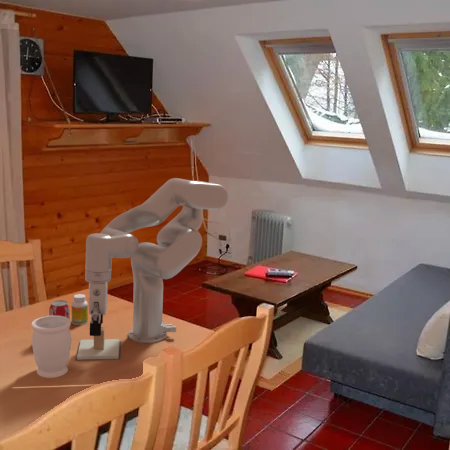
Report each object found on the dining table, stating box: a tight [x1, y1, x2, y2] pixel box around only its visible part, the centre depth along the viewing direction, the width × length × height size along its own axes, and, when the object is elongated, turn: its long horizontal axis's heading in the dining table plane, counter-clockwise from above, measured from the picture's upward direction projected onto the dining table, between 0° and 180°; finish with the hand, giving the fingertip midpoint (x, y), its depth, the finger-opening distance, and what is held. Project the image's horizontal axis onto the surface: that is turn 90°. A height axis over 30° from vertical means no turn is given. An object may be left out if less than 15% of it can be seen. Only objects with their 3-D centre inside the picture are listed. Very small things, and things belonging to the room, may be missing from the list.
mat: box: [75, 340, 122, 362], centre depth 172 cm, size 13×13×1 cm
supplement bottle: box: [71, 293, 89, 326], centre depth 193 cm, size 5×5×10 cm
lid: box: [76, 326, 120, 361], centre depth 172 cm, size 12×12×7 cm
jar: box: [31, 315, 72, 379], centre depth 157 cm, size 11×10×15 cm
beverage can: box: [48, 300, 71, 330], centre depth 180 cm, size 6×6×12 cm
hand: (96, 329), depth 170 cm, fingers open, 9 cm apart
